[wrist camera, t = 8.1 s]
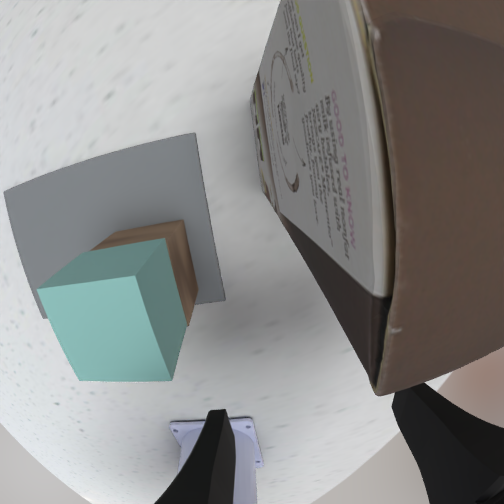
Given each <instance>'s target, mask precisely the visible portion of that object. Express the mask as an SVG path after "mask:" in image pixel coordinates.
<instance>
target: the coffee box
mask: <svg viewBox="0 0 504 504" xmlns="http://www.w3.org/2000/svg"><path fill="white" fill-rule="evenodd" d="M250 103H251V111H252V119H253V127H254V134H255V142H256V150H257V158H258V166H259V173H260V179H261V185H262V190H263V192H264V194H265V196H266V197H267V199H268V200H269V202H270V203H271V205H272V207H273V208H274V210H275V212H276V213H277V215H278V216H279V218H280V220H281V222H282V224H283V225H284V227H285V228H286V230H287V231H288V233H289V235H290V237H291V238H292V240H293V242H294V243H295V245H296V247H297V248H298V250H299V252H300V253H301V255H302V257H303V259H304V260H305V262H306V264H307V265H308V267H309V269H310V271H311V272H312V274H313V276H314V278H315V279H316V281H317V283H318V285H319V286H320V288H321V290H322V292H323V293H324V295H325V297H326V299H327V301H328V302H329V304H330V306H331V308H332V310H333V311H334V313H335V315H336V317H337V319H338V321H339V322H340V324H341V326H342V328H343V330H344V332H345V333H346V335H347V337H348V339H349V341H350V343H351V345H352V346H353V348H354V350H355V352H356V354H357V356H358V358H359V359H360V361H361V363H362V365H363V367H364V369H365V370H366V372H367V374H368V377H369V381H370V384H371V386H372V389H373V391H374V393H375V395H377V396H384V395H388V394H391V393H394V392H398V391H401V390H404V389H407V388H410V387H412V386H415V385H418V384H421V383H424V382H426V381H429V380H432V379H434V378H437V377H439V376H442V375H444V374H447V373H449V372H451V371H454V370H456V369H458V368H461V367H463V366H465V365H467V364H469V363H471V362H473V361H475V360H478V359H480V358H482V357H484V356H486V355H488V354H489V353H491V352H494V351H496V350H498V349H500V348H502V347H503V346H504V0H281V1H280V4H279V7H278V10H277V13H276V16H275V19H274V22H273V26H272V29H271V32H270V35H269V38H268V41H267V44H266V47H265V51H264V55H263V58H262V61H261V65H260V68H259V71H258V74H257V77H256V81H255V83H254V87H253V91H252V95H251V98H250Z"/></svg>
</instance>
